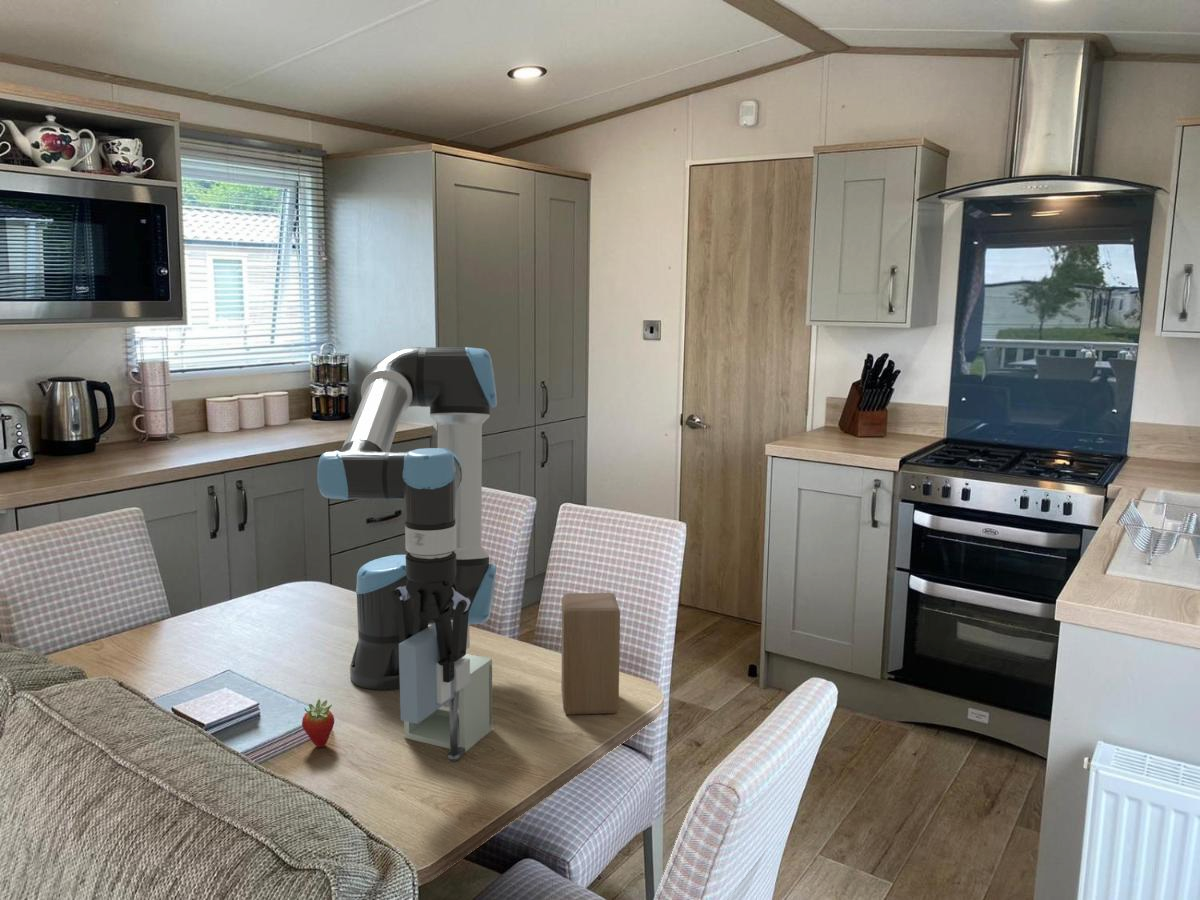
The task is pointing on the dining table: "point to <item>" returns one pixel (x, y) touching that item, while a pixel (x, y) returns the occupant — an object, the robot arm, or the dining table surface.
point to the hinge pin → (454, 733)
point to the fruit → (318, 723)
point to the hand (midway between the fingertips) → (433, 697)
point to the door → (425, 674)
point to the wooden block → (590, 653)
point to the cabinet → (461, 711)
